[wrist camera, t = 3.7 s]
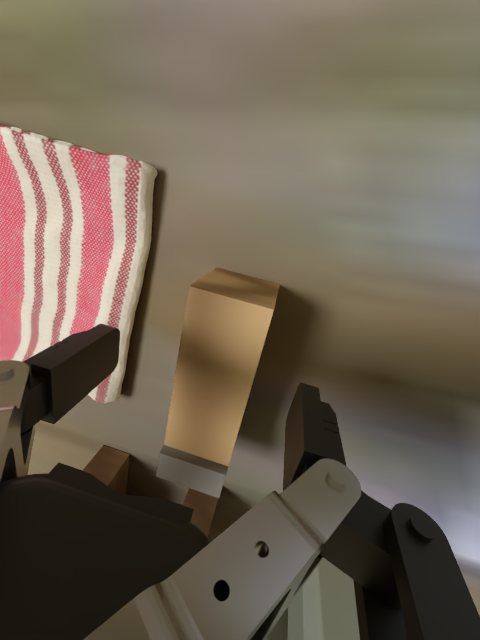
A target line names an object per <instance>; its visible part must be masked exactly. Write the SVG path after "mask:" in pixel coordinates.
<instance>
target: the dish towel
mask: <svg viewBox="0 0 480 640" xmlns="http://www.w3.org/2000/svg"><path fill="white" fill-rule="evenodd" d="M156 176H157V171H156V169H155V167H153V166H151V165H148V164H147V163H145V162H143V161H135V160H133V159H130V158H128V157H126V156H121V155H104V154H99V153H97V152H95V151H92V150H89V149H87V148H82V147H78V146H75V145H73V144H71V143H68V142H63V141H60V140H51V139H49V138H47V137H45V136H43V135H39V134H36V133H34V132H26V131H24V130H22V129H20V128H17V127H6V126H3V125H0V361H4V360H16V361H21V362H23V361H25V360H27V359H28V358H30V357H32V356H34V355H36V354H37V353H39V352H41V351H43V350H45V349H47V348H48V347H50V346H53V345H54V344H56V343H57V342H59V341H62V340H63V339H65V338H67V337H68V336H70V335H72V334H75V333H79V332H83V331H88V330H90V329H91V328H93V327H95V326H97V325H98V324H105V325H108V326H112V327H115V328H118V329H119V330H120V345H119V360H118V364H117V366H116V368H115V370H114V371H113V372H112V373H111V374H110V375H109V376H108V377H107V378H106V379H105V380H103V381H102V382H101V383H100V384H99V385H98V386H97V387H95V388H94V389H93V390H92V391H91V392H90V393H89V394H88V395H89V396H90V397H91V398H92V399H93V400H95V401H96V402H98V403H102V404H105V403H107V402H115V401H117V400H118V399H119V398H120V393H121V386H122V382H123V379H124V375H125V371H126V363H127V354H128V348H129V340H130V335H131V332H132V328H133V323H134V318H135V311H136V308H137V304H138V301H139V296H140V292H141V288H142V284H143V279H144V272H145V268H146V262H147V259H148V255H149V250H150V245H151V239H152V238H151V233H152V213H153V208H152V204H153V189H154V179H155V178H156Z"/></svg>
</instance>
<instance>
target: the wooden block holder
mask: <svg viewBox="0 0 480 640" xmlns="http://www.w3.org/2000/svg"><path fill="white" fill-rule="evenodd" d="M129 457H130V454H128V453H125V452H123V451H120V450H117V449H114V448H111V447H108V446H105V445H103V447H102V448H101V449H100V450H99V451H98V453H97V454H96V455H95V456H94V457H93V459H92V460H91V461H90V462H89V463H88V465H87V466H86V467H85V468H84V469H83V471H85V472H88V473H90V474H92V475H93V476H95V477H96V478H97V479H99V480H100V481H102V482H103V483H104V484H106V485H107V486H108V487H110V488H111V489H112V490H114V491H115V492H116V493H118V494H121V495H126V490H127V479H128V468H129ZM217 501H218V498H216V497H214V496H211V495H208V494H205V493H202V492H199V491H196V490H193V489H191V488H189V491H188V493H187V496H186V498H185V501H184V503H183V505H184V506H186V507H189V508H192V509H194V511H193V515H192V519H191V522H192V523H193V524H194V525H196V526H197V527H198V528H199V529H200V530H201V531H202V532H203V533H204V534H205V535H206V536H207V537H208V534H209V531H210V527H211V523H212V520H213V516H214V512H215V509H216V505H217Z"/></svg>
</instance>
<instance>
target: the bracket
mask: <svg viewBox="0 0 480 640" xmlns="http://www.w3.org/2000/svg"><path fill="white" fill-rule="evenodd" d="M265 640H360V635H359V626H358V617H357V608H356V599H355V590H354V582H353V579H352V578H350V577H349V576H348V575H346V574H345V573H344V572H342V571H341V570H340V569H338V568H337V567H336V566H334V565H333V564H332V563H330V562H329V561H327V560H326V559H325V558H323V559H322V561H321V562H320V563H319V565H318V566H317V567H316V569H315V570H314V571H313V573H312V574H311V576H310V577H309V578H308V580H307V581H306V582H305V584H304V585H303V586H302V588H301V589H300V590H299V592H298V593H297V595H296V596H295V597H294V599H293V600H292V601H291V603H290V604H289V606H288V607H287V608H286V610H285V611H284V613H283V614H282V616H281V617H280V619H279V620H278V622H277V623H276V625H275V626H274V628H273V629H272V631H271V632H270V633H269V635H268V636H267V638H266V639H265Z"/></svg>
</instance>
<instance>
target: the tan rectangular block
mask: <svg viewBox="0 0 480 640" xmlns="http://www.w3.org/2000/svg"><path fill="white" fill-rule="evenodd" d="M279 286H280V285H279V284H276V283H272V282H268V281H264V280H261V279H257V278H253V277H250V276H246V275H242V274H238V273H235V272H231V271H227V270H224V269H220V268H215V269H214V270H212V271H211V272H209V273H208V274H207V275H205V276H204V277H202V278H201V279H199V280H198V281H196V282H195V283H193V284H192V285H190V286H189V290H188V296H187V302H186V309H185V315H184V321H183V328H182V334H181V341H180V347H179V353H178V360H177V366H176V372H175V379H174V385H173V391H172V398H171V404H170V410H169V417H168V423H167V429H166V436H165V442H164V446H163V448H162V449H161V451H160V453H159V459H158V466H157V473H156V477H159V478H162V479H165V480H167V481H170V482H173V483H176V484H179V485H182V486H185V487H188V488H191V489H193V490H196V491H199V492H202V493H205V494H208V495H211V496H214V497H216V498H219V497H220V494H221V490H222V487H223V483H224V480H225V476H226V473H227V469H228V465H229V462H230V459H231V455H232V452H233V448H234V445H235V442H236V438H237V435H238V431H239V428H240V424H241V421H242V418H243V414H244V411H245V407H246V404H247V400H248V397H249V394H250V390H251V387H252V383H253V380H254V376H255V373H256V370H257V366H258V363H259V359H260V356H261V352H262V349H263V346H264V342H265V339H266V335H267V332H268V329H269V325H270V322H271V318H272V315H273V311H274V308H275V303H276V299H277V295H278V290H279Z"/></svg>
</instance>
